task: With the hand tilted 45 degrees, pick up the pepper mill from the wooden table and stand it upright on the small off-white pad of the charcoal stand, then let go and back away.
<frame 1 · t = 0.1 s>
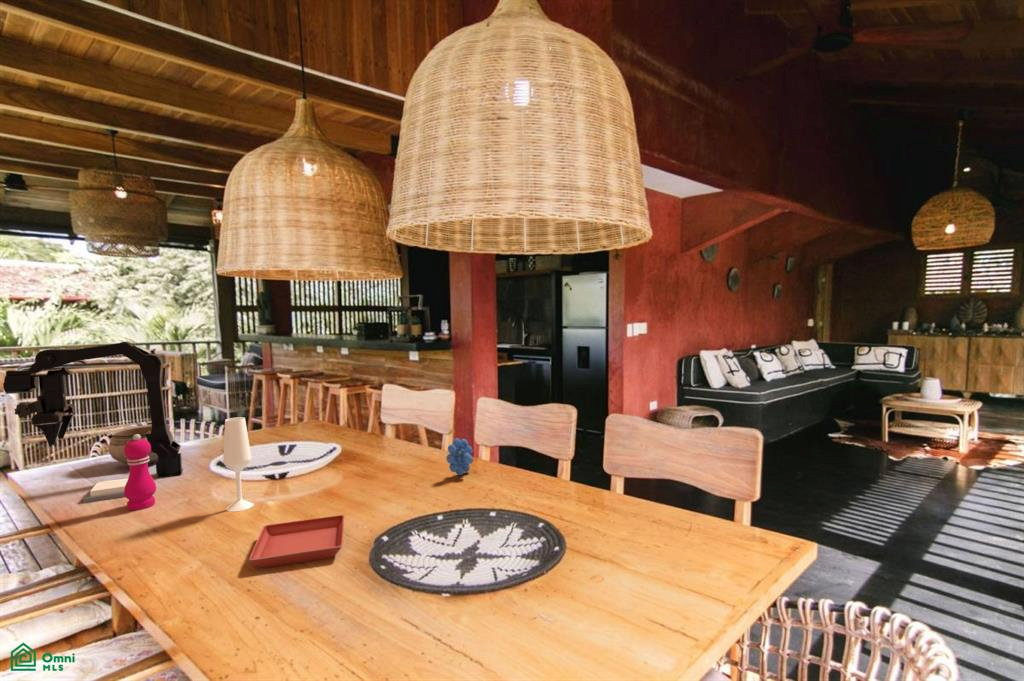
hand: (56, 442, 159), 15 cm above the table, tool pointing down, fingers open, 9 cm apart
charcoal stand: (113, 493, 156), on the table
champagne flute: (240, 507, 142), on the table
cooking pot: (143, 464, 186), on the table
plant saucer: (301, 550, 117), on the table
pepper mill: (141, 506, 145), on the table
grapes: (462, 476, 165), on the table
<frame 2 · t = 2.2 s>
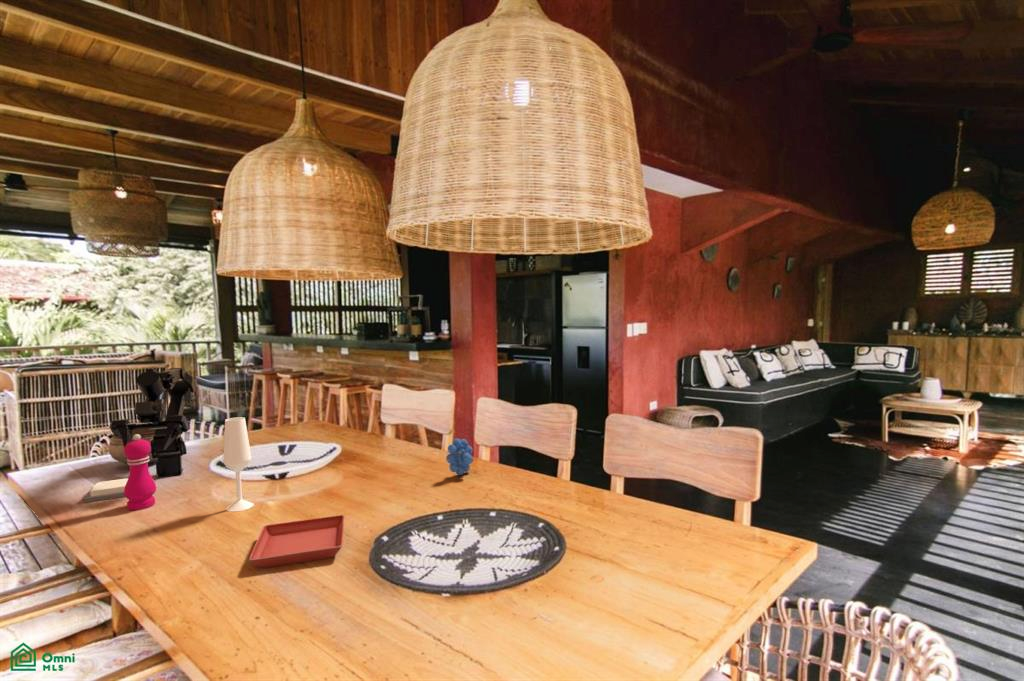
hand: (145, 451, 151), 13 cm above the table, tool tilted 45°, fingers open, 9 cm apart
nothing on the table moved.
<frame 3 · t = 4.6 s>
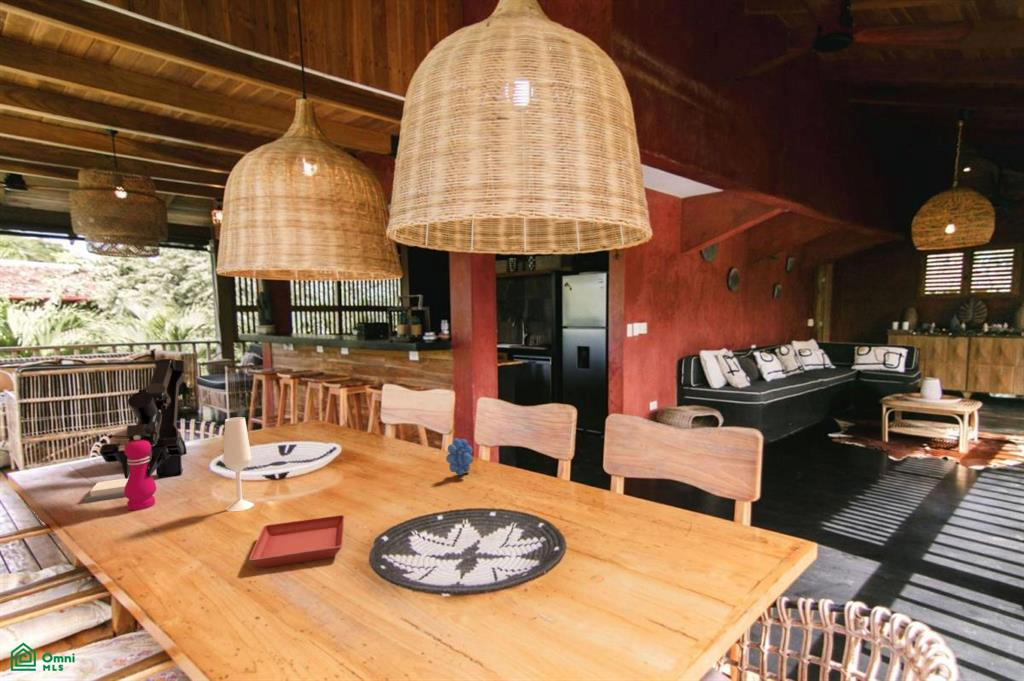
hand: (137, 476, 143), 9 cm above the table, tool tilted 45°, fingers closed on pepper mill, 5 cm apart
pepper mill: (141, 506, 145), on the table, touching gripper
everything else where it was.
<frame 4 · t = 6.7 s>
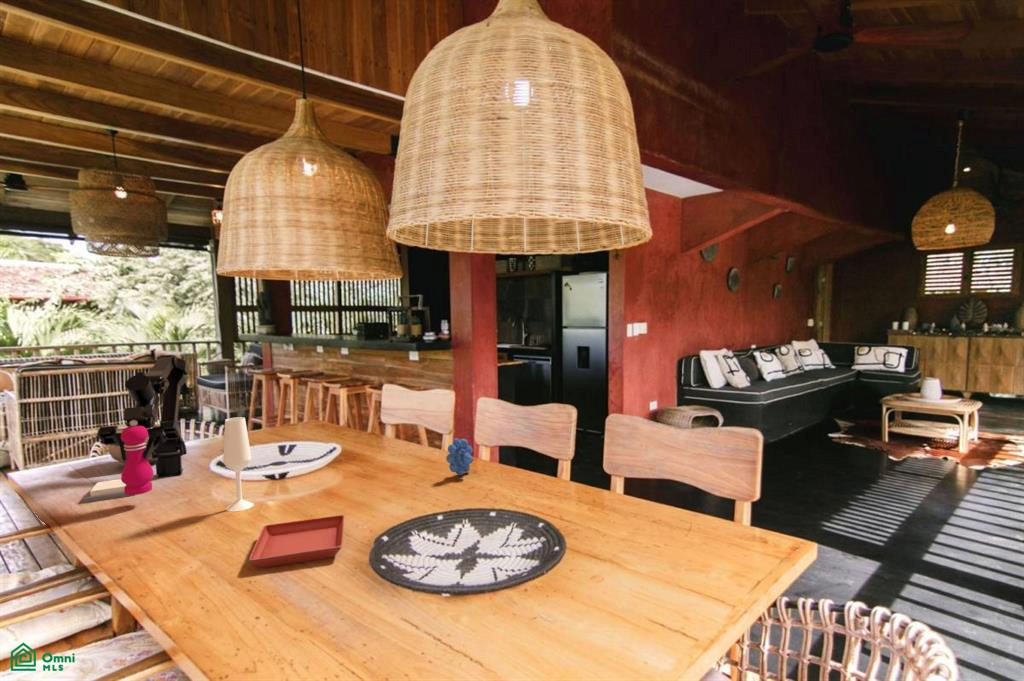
hand: (134, 459, 143), 13 cm above the table, tool tilted 45°, fingers closed on pepper mill, 5 cm apart
pepper mill: (138, 491, 145), point 4 cm above the table, touching gripper
everything else where it was.
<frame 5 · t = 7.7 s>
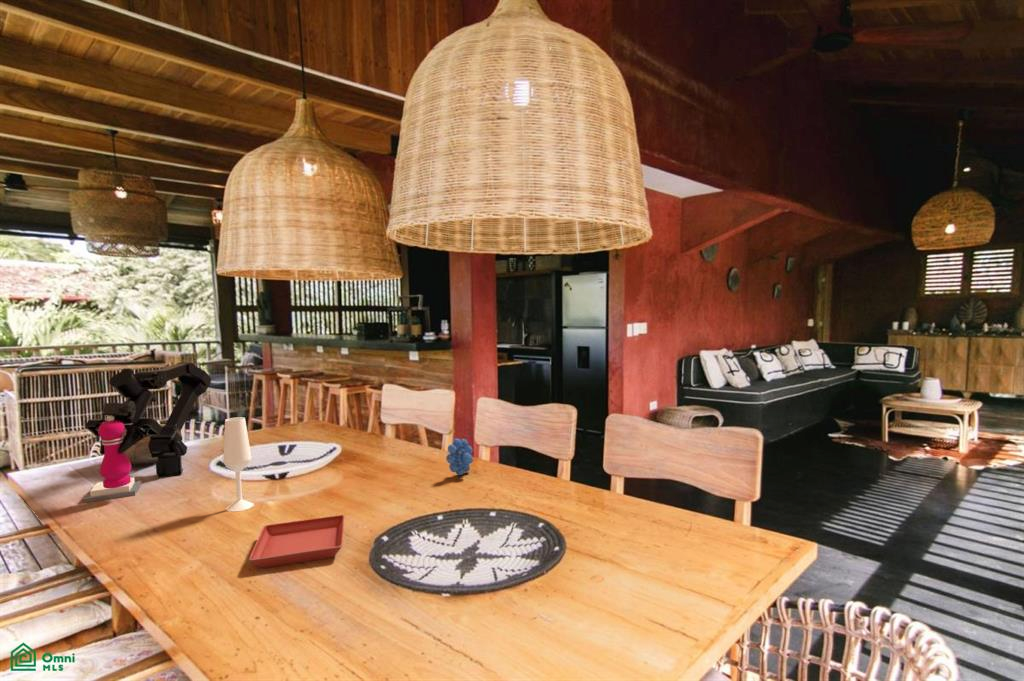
hand: (110, 453, 147), 14 cm above the table, tool tilted 45°, fingers closed on pepper mill, 5 cm apart
pepper mill: (117, 484, 150), point 4 cm above the table, touching gripper
everything else where it was.
when the fingers open (12 cm above the table, at t = 9.5 s): pepper mill stays where it is, resting on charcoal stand.
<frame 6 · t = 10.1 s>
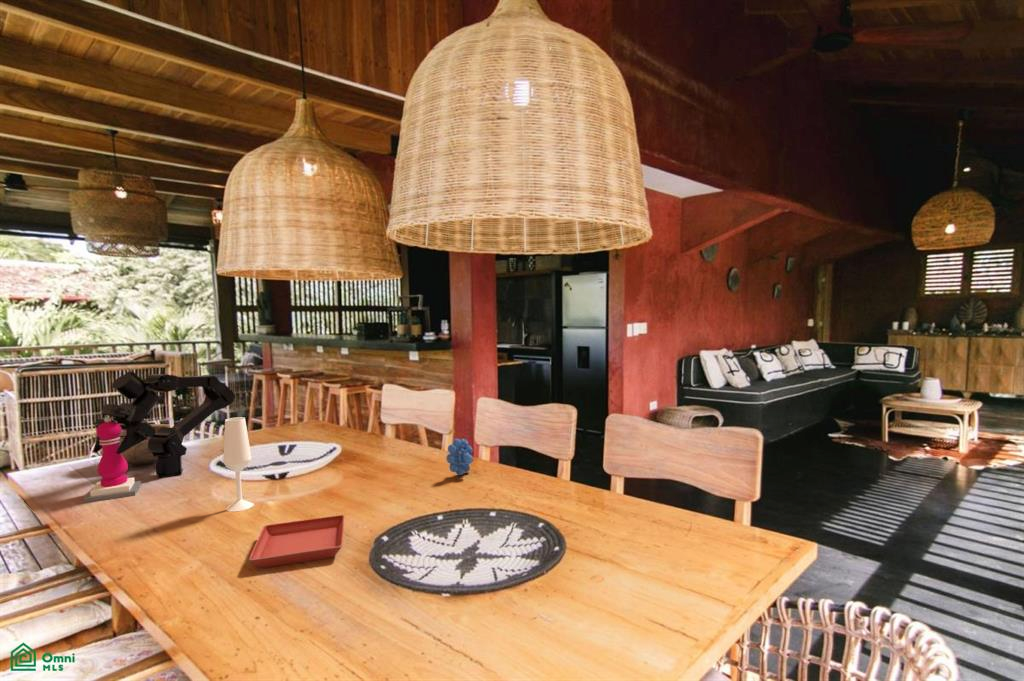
hand: (105, 452, 153), 13 cm above the table, tool tilted 45°, fingers open, 9 cm apart
pepper mill: (114, 483, 156), point 3 cm above the table, touching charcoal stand, gripper
everything else where it was.
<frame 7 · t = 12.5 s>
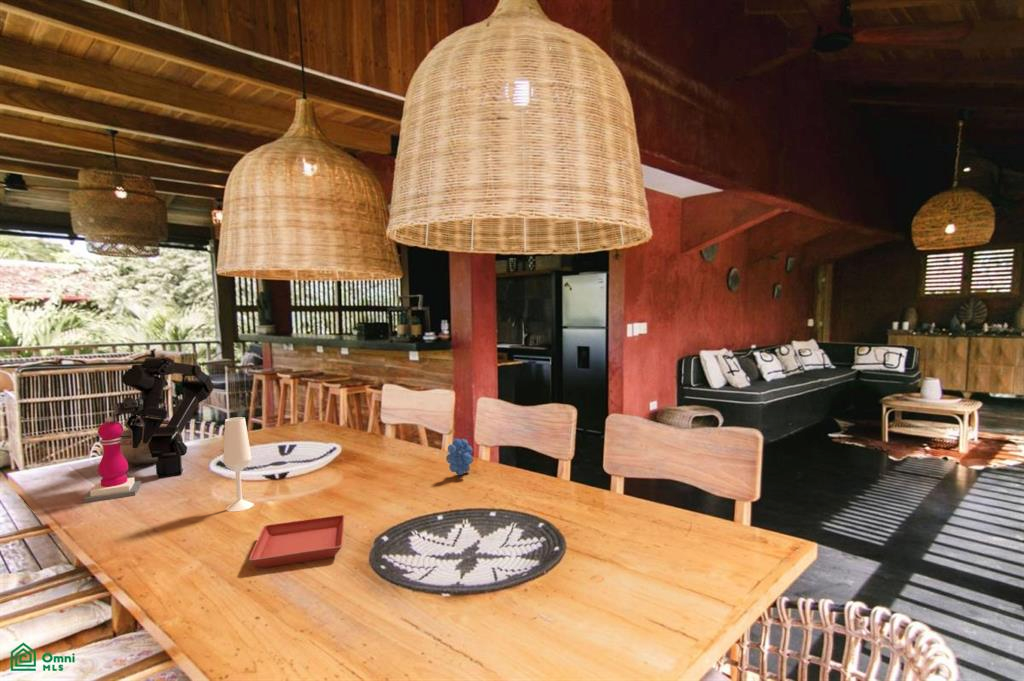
hand: (139, 445, 158), 13 cm above the table, tool tilted 25°, fingers open, 9 cm apart
pepper mill: (114, 484, 156), point 3 cm above the table, touching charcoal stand
everything else where it was.
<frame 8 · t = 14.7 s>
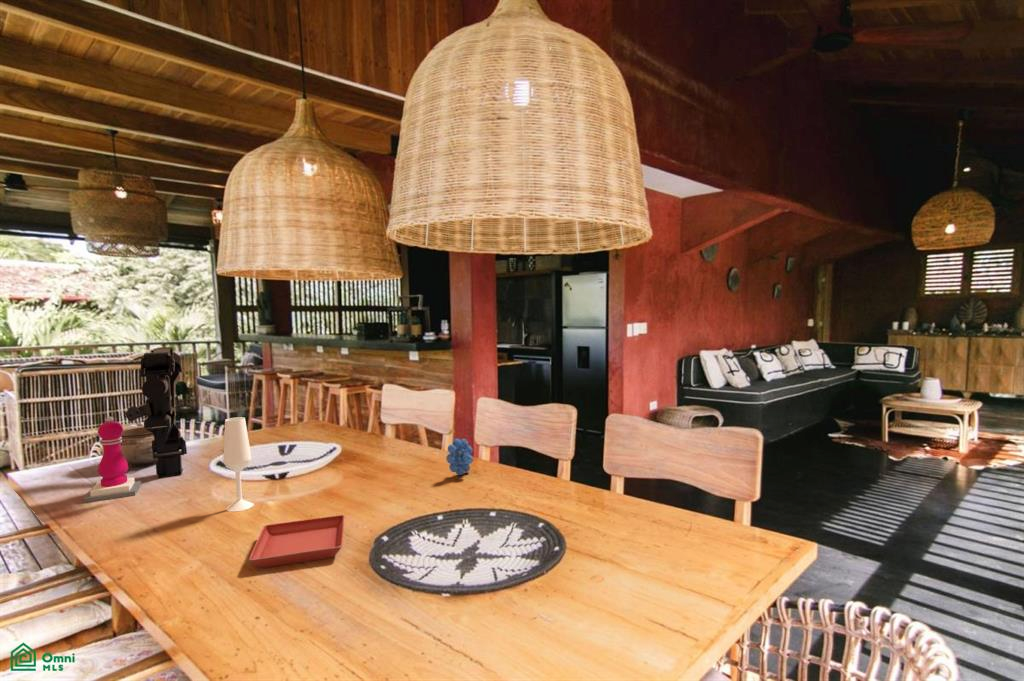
hand: (162, 445, 159), 13 cm above the table, tool pointing down, fingers open, 9 cm apart
nothing on the table moved.
at the end: pepper mill 0.4 cm off-centre on the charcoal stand, point 2.6 cm above the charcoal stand's base; pepper mill tilted 0°; the gripper is holding nothing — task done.
